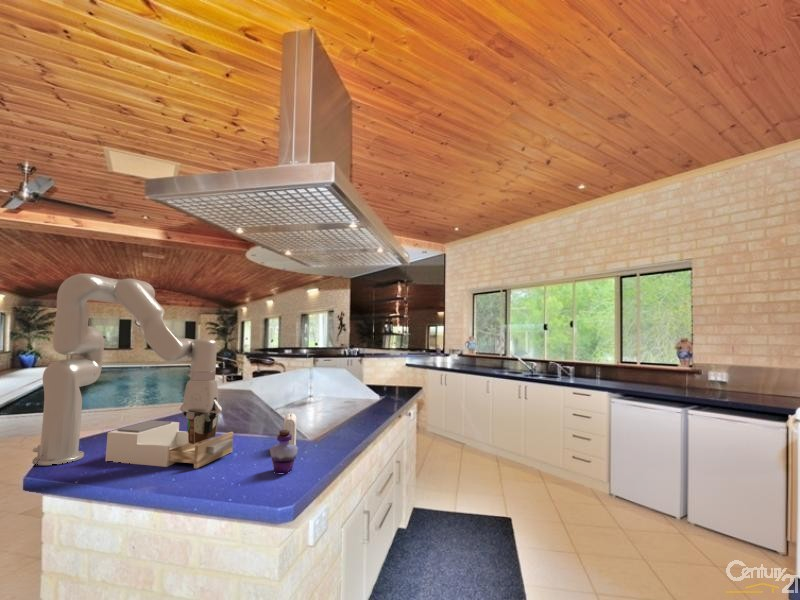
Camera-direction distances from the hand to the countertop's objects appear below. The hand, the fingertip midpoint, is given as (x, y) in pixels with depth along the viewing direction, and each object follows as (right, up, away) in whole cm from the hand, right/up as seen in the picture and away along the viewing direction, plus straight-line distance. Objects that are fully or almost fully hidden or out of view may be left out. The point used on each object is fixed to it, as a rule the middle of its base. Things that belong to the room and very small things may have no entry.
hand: (199, 432), depth 135 cm
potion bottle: (+30, -8, -11) cm, 33 cm away
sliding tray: (+2, -8, -1) cm, 8 cm away
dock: (-15, -8, +2) cm, 17 cm away
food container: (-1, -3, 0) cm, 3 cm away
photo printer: (+26, -10, +13) cm, 31 cm away
